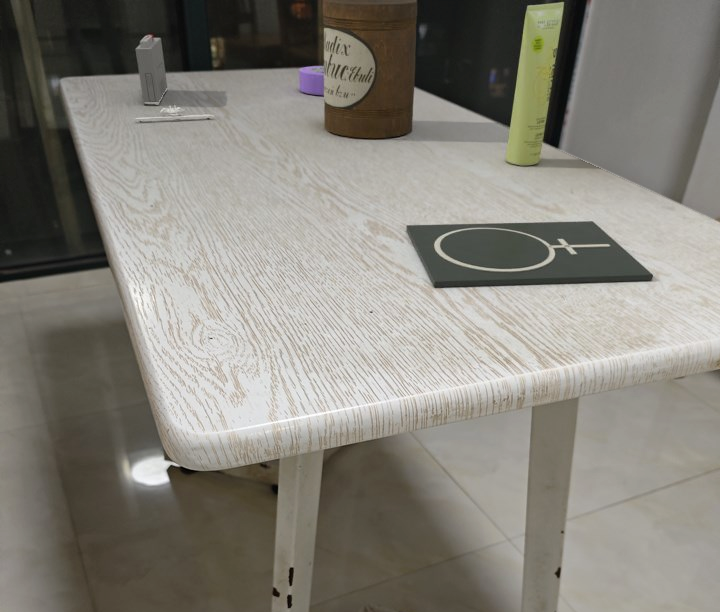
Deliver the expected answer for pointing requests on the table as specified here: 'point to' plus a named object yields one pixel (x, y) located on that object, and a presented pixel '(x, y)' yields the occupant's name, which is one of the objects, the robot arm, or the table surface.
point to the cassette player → (151, 68)
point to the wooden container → (369, 67)
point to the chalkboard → (522, 254)
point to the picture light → (174, 112)
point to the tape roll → (312, 80)
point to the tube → (534, 83)
